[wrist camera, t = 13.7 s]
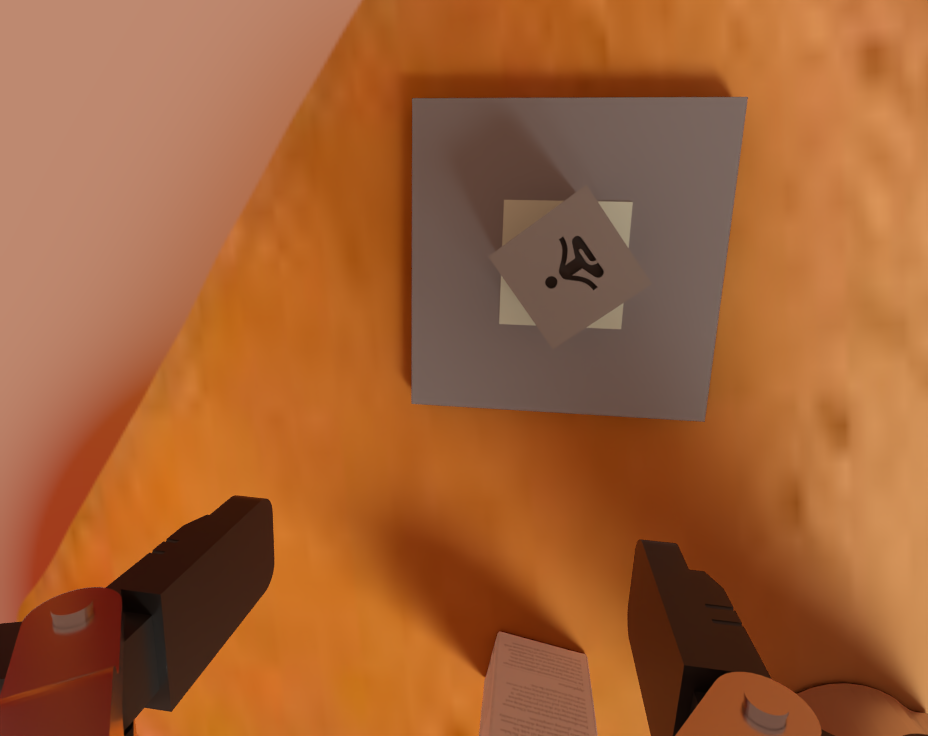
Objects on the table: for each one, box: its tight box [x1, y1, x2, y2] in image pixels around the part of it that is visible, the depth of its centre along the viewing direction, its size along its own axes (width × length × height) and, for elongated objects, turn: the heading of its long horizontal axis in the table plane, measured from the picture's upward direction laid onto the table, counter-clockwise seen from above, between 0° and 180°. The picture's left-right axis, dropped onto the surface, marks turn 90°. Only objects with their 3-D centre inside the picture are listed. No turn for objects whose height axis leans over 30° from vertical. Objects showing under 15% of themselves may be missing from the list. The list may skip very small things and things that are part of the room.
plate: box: [412, 97, 748, 422], centre depth 29 cm, size 16×16×2 cm
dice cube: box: [488, 185, 652, 349], centre depth 26 cm, size 5×5×5 cm
